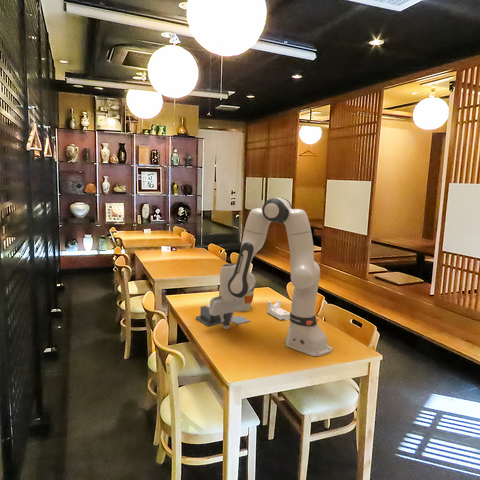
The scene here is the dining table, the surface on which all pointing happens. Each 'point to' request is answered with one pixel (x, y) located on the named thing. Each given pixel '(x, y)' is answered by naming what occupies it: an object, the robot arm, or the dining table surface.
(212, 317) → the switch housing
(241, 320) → the rest mat
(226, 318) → the stylus
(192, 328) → the dining table surface
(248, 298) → the reusable coffee cup
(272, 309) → the bracket
